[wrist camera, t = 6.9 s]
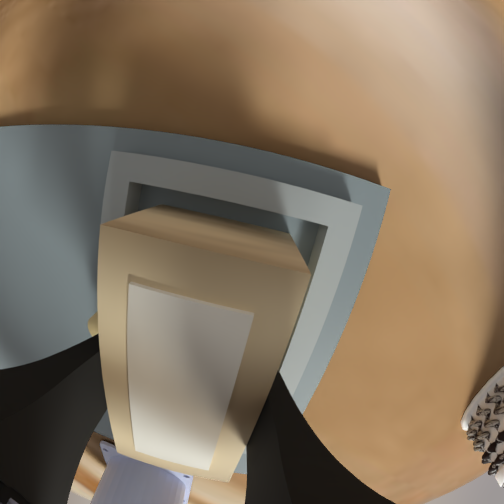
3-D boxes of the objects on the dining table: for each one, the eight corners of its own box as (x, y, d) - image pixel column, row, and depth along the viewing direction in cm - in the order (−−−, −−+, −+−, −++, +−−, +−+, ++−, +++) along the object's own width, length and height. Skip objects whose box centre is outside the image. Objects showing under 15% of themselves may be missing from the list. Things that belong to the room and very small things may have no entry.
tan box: (235, 414, 13) (228, 485, 8) (145, 391, 13) (116, 454, 8) (289, 233, 10) (312, 276, 6) (161, 203, 10) (97, 225, 6)
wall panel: (263, 467, 16) (263, 495, 13) (3, 369, 15) (-12, 384, 12) (382, 188, 10) (413, 192, 8) (-17, 129, 10) (-43, 129, 7)
